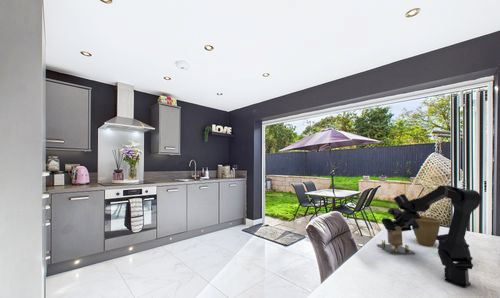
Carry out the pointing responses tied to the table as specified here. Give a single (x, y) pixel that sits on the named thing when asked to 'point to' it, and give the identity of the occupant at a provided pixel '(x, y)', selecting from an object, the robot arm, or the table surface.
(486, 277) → the table surface
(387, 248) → the standoff plate
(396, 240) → the walnut block
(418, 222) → the plant pot
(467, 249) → the black shoulder bracket
